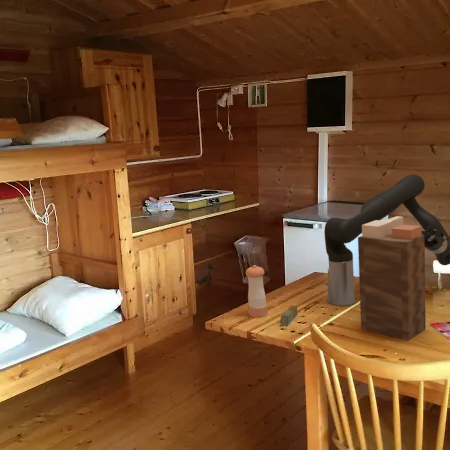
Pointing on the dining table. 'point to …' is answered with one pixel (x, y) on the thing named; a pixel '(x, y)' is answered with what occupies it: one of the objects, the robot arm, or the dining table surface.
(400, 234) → the terracotta block
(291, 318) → the medication box
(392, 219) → the beige long block
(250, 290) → the pepper shaker
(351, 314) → the dining table surface
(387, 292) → the walnut stand
